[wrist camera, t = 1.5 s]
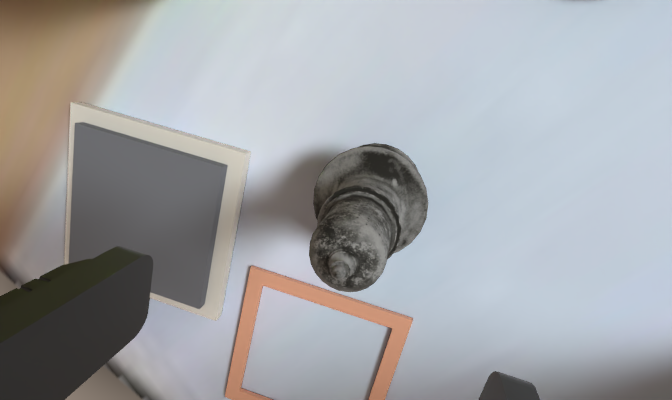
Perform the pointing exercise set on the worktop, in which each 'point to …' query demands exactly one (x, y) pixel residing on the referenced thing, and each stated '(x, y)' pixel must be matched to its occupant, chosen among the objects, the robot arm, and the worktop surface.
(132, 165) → the ink pad
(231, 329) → the worktop surface
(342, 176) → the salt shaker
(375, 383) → the marked box
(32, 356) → the robot arm
